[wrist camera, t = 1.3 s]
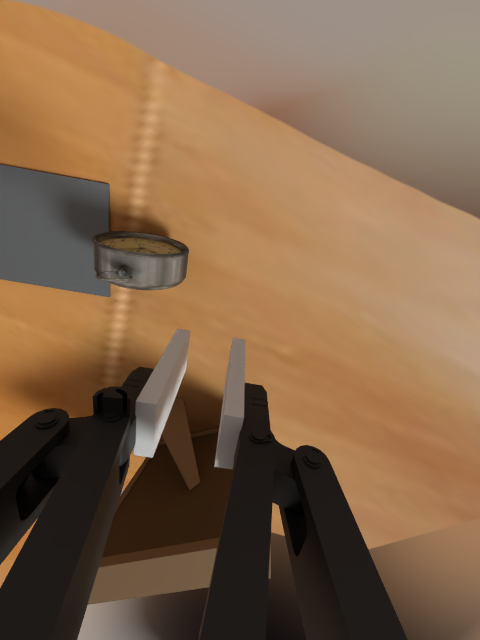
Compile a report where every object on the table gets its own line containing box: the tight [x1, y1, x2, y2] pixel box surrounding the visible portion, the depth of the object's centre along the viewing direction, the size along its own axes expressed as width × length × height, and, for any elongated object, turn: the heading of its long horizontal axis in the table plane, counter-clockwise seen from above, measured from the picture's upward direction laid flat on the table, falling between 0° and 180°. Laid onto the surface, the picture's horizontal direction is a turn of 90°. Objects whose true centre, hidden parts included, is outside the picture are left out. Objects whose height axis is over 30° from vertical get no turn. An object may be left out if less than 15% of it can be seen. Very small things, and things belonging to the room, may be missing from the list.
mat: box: [0, 164, 110, 297], centre depth 40 cm, size 20×16×1 cm
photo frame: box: [88, 397, 271, 604], centre depth 41 cm, size 15×22×25 cm
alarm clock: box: [92, 231, 189, 290], centre depth 33 cm, size 11×5×16 cm, turn 79°
